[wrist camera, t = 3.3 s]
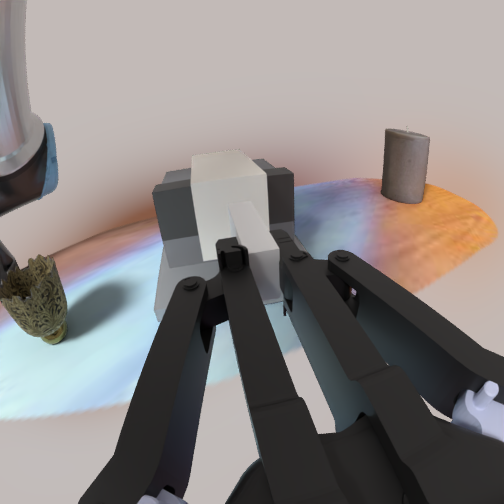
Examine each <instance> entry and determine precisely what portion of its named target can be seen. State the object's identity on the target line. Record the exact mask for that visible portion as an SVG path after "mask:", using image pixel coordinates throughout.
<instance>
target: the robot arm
mask: <svg viewBox="0 0 504 504" xmlns="http://www.w3.org/2000/svg"><path fill="white" fill-rule="evenodd" d="M26 3H27V0H0V217H1V216H3V215H5V214H7V213H9V212H11V211H13V210H15V209H18V208H20V207H22V206H24V205H26V204H29V203H31V202H33V201H35V200H40V199H41V198H42V197H43V196H45V195H47V194H49V193H51V192H53V191H54V190H55V189H56V187H57V184H58V164H57V159H56V157H57V156H56V144H55V137H54V132H53V128H52V125H51V124H50V123H43V122H42V120H41V119H40V117H39V116H38V115H36V114H34V113H32V112H31V107H30V100H29V93H28V83H27V72H26V56H25V19H26ZM228 213H229V221H230V229H231V238H224V239H218V241H217V242H216V244H215V246H216V252H217V259H218V265H219V272H218V274H217V275H216V276H215V277H213V278H212V279H210V280H207V281H205V279H204V278H202V277H199V276H191V277H187V278H184V279H182V280H181V281H179V282H178V283H177V285H176V287H175V289H174V291H173V294H172V296H171V298H170V301H169V303H168V306H167V308H166V310H165V313H164V315H163V318H162V320H161V323H160V325H159V328H158V330H157V333H156V335H155V338H154V340H153V343H152V345H151V348H150V351H149V353H148V356H147V358H146V361H145V364H144V366H143V369H142V372H141V375H140V377H139V380H138V383H137V386H136V388H135V391H134V394H133V397H132V400H131V403H130V406H129V409H128V412H127V415H126V418H125V421H124V424H123V427H122V430H121V433H120V436H119V440H118V443H117V446H116V449H115V452H114V455H113V457H112V458H111V459H110V461H109V462H108V463H107V465H106V466H105V467H104V468H103V470H102V471H101V472H100V474H99V475H98V476H97V478H96V479H95V480H94V481H93V483H92V484H91V485H90V487H89V488H88V489H87V491H86V492H85V493H84V495H83V496H82V497H81V498H80V500H79V502H78V504H188V503H187V502H186V501H184V500H183V497H184V494H185V491H186V488H187V486H188V482H189V477H190V473H191V467H192V461H193V454H194V449H195V443H196V437H197V431H198V425H199V419H200V413H201V407H202V402H203V396H204V391H205V386H206V380H207V375H208V369H209V364H210V359H211V353H212V348H213V343H214V338H215V332H216V325H218V324H221V323H223V322H225V321H227V320H229V324H230V329H231V334H232V339H233V344H234V349H235V353H236V358H237V363H238V367H239V372H240V377H241V381H242V385H243V390H244V394H245V399H246V403H247V407H248V412H249V416H250V420H251V423H252V428H253V432H254V436H255V440H256V445H257V449H258V453H259V457H260V458H259V459H257V460H256V461H255V462H253V463H252V464H251V465H250V466H249V467H248V468H247V470H246V471H245V472H244V473H243V475H242V476H241V478H240V480H239V482H238V483H237V485H236V486H235V488H234V490H233V491H232V493H231V495H230V496H229V498H228V499H227V501H226V503H225V504H504V357H503V356H500V355H498V354H496V353H494V352H491V351H489V350H487V349H484V348H482V347H481V346H480V345H479V344H478V343H476V342H475V341H474V340H473V339H471V338H470V337H469V336H467V335H466V334H465V333H464V332H462V331H461V330H460V329H459V328H457V327H456V326H455V325H453V324H452V323H451V322H449V321H448V320H447V319H445V318H444V317H443V316H441V315H440V314H439V313H437V312H436V311H435V310H433V309H432V308H431V307H429V306H428V305H427V304H425V303H424V302H422V301H421V300H420V299H418V298H417V297H416V296H414V295H413V294H411V293H410V292H409V291H407V290H406V289H404V288H403V287H402V286H400V285H399V284H397V283H396V282H394V281H393V280H391V279H390V278H389V277H387V276H386V275H384V274H383V273H381V272H380V271H378V270H377V269H375V268H374V267H372V266H371V265H369V264H368V263H366V262H365V261H363V260H362V259H360V258H359V257H357V256H356V255H354V254H353V253H351V252H349V251H345V250H337V251H333V252H331V253H330V254H329V255H328V260H316V259H313V258H312V256H311V255H310V254H309V253H308V252H305V251H302V250H299V248H298V247H297V245H296V244H295V243H294V241H293V240H292V238H290V236H289V234H288V233H287V232H285V231H284V230H282V229H278V230H271V231H269V230H268V229H267V227H266V225H265V224H264V222H263V220H262V219H261V217H260V215H259V214H258V212H257V210H256V209H255V207H254V205H253V204H252V202H251V201H246V202H239V203H232V204H228ZM16 266H18V264H17V262H16V260H15V258H14V257H13V255H12V254H11V253H10V252H9V251H8V250H7V248H6V247H5V246H4V244H3V243H2V242H1V241H0V288H3V287H2V285H1V279H3V280H5V281H6V280H7V272H8V270H12V271H14V272H15V267H16ZM352 288H353V289H354V290H356V295H354V294H352V293H351V291H352ZM281 291H282V293H283V313H284V316H286V311H287V313H288V315H289V317H290V319H291V322H292V324H293V326H294V328H295V330H296V333H297V335H298V337H299V339H300V342H301V344H302V346H303V348H304V351H305V353H306V355H307V358H308V360H309V362H310V364H311V366H312V369H313V371H314V373H315V376H316V378H317V380H318V382H319V385H320V387H321V389H322V392H323V394H324V396H325V398H326V401H327V403H328V405H329V408H330V410H331V412H332V414H333V417H334V420H335V429H336V433H326V434H318V433H317V431H316V428H315V425H314V423H313V420H312V418H311V415H310V413H309V410H308V408H307V405H306V403H305V401H304V400H303V398H302V397H299V396H298V395H297V392H296V390H295V387H294V384H293V382H292V379H291V376H290V374H289V371H288V368H287V366H286V363H285V360H284V358H283V355H282V352H281V350H280V347H279V344H278V342H277V339H276V336H275V333H274V331H273V328H272V325H271V323H270V320H269V317H268V315H267V312H266V309H265V306H264V304H263V301H267V300H272V299H277V298H281ZM386 363H387V364H388V365H387V364H386ZM420 395H421V396H422V397H423V398H424V399H425V400H426V401H427V402H428V403H429V404H430V405H431V406H433V407H434V408H435V409H436V410H438V411H439V412H441V413H442V414H444V415H445V416H447V417H449V418H451V419H453V420H452V422H451V423H450V422H448V421H445V420H443V419H440V418H438V417H435V416H433V415H432V414H431V412H430V410H429V409H428V407H427V405H426V404H425V402H424V401H423V399H422V398H421V396H420Z"/></svg>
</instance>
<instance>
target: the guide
mask: <svg viewBox="0 0 504 504" xmlns="http://www.w3.org/2000/svg"><path fill="white" fill-rule="evenodd" d="M252 161H253V162H254V163H255V164H257V165H258V166H259V167H260V168H261V169H262V170H263V171H264V172H265V173H266V174H267V189H268V209H269V229H270V231H271V230H278V229H282V230H284V231H285V232H287V233H288V234H289V236H290V238H292V240H293V241H294V243H295V244H296V245H297V247H298V248H299V250H302V251H305V252H307V250H306V249H305V248H304V246H303V245H302V244H301V242H300V241H299V240H298V238H297V237H296V236H295V234H294V174H293V173H292V172H291V171H290V170H288V169H287V168H285V167H283V168H275V167H273V166H272V165H271V164H269V163H268V162H267V161H265V160H264V159H256V160H252ZM152 195H153V200H154V205H155V209H156V214H157V219H158V223H159V228H160V232H161V236H162V241H163V245H164V247H163V252H162V258H161V264H160V270H159V277H158V283H157V290H156V298H155V305H154V312H155V315H156V317H157V320H158V322H160V321H161V320H162V318H163V315H164V313H165V310H166V308H167V306H168V303H169V301H170V298H171V296H172V294H173V291H174V289H175V287H176V285H177V283H178V282H179V281H181V280H182V279H184V278H187V277H191V276H199V277H202V278H204V279H205V281H207V280H210V279H212V278H213V277H215V276H216V275H217V274H218V272H219V265H218V259H215V260H208V261H203V256H202V250H201V245H200V239H199V233H198V228H197V222H196V216H195V210H194V203H193V197H192V191H191V168H188V169H182V170H176V171H170V172H166V175H165V177H164V179H163V182H162V184H159V185H156V186H155V188H154V190H153V192H152ZM281 301H283V293H282V291H281V298H277V299H272V300H267V301H263V304H264V305H266V304H271V303H276V302H281Z"/></svg>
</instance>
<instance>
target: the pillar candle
mask: <svg viewBox="0 0 504 504" xmlns="http://www.w3.org/2000/svg"><path fill="white" fill-rule="evenodd" d="M429 143H430V138H429V137H427V136H425V135H422V134H418V133H414V132H409V131H408V127H407V131H404V130H397V129H386V130H385V149H384V165H383V176H382V190H381V194H382V195H383V196H385V197H387V198H389V199H391V200H394V201H398V202H401V203H409V204H416V203H420V202H422V199H423V194H424V188H425V181H426V173H427V164H428V154H429Z"/></svg>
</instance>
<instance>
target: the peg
mask: <svg viewBox="0 0 504 504" xmlns="http://www.w3.org/2000/svg"><path fill="white" fill-rule="evenodd" d="M191 191H192V197H193V203H194V210H195V216H196V222H197V228H198V233H199V239H200V245H201V250H202V256H203V261H208V260H215V259H217V252H216V246H215V244H216V242H217V241H218V239H224V238H231V229H230V221H229V213H228V204H232V203H239V202H246V201H251V202H252V204H253V205H254V207H255V209H256V210H257V212H258V214H259V215H260V217H261V219H262V220H263V222H264V224H265V225H266V227H267V229H268V230H269V231H270V229H269V209H268V189H267V174H266V173H265V172H264V171H263V170H262V169H261V168H260V167H259V166H258V165H257V164H255V163H254V162H253V161H252V160H251V159H250V158H249V157H248V156H247V155H246V154H244V153H243V152H242V151H241V150H240V149H238V150H229V151H221V152H214V153H206V154H199V155H193V156H192V166H191Z"/></svg>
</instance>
